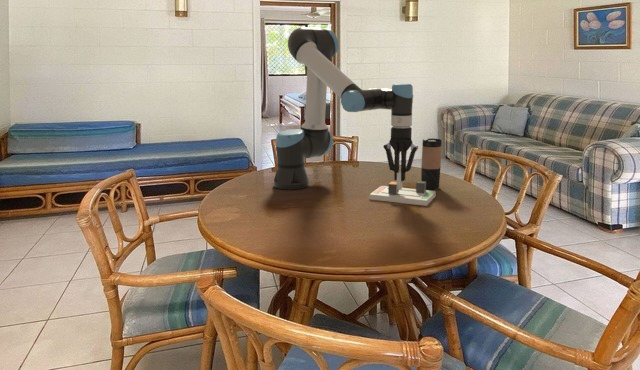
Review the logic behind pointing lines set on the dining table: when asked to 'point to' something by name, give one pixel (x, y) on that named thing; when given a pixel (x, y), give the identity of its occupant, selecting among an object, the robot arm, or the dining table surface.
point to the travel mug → (431, 163)
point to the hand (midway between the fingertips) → (399, 188)
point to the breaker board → (405, 195)
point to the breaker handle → (392, 188)
